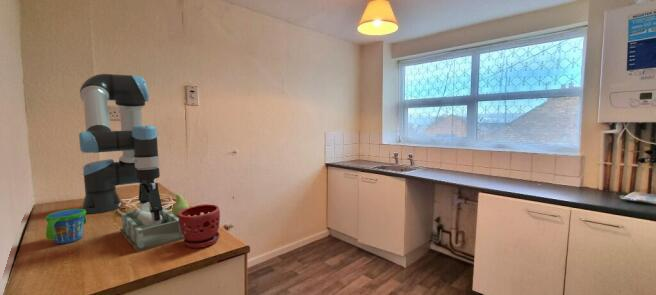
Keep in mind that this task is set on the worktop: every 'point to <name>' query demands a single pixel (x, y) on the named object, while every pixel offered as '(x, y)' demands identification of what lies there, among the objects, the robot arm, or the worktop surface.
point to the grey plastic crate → (151, 231)
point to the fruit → (179, 204)
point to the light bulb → (144, 217)
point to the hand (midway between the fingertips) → (151, 224)
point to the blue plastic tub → (65, 225)
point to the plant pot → (200, 225)
